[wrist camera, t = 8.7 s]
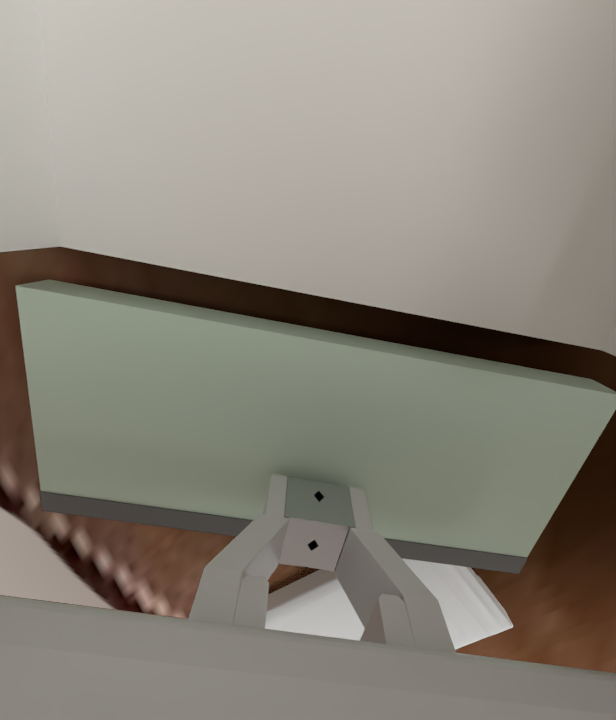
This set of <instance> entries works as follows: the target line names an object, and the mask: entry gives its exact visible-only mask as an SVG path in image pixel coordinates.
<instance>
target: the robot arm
mask: <svg viewBox="0 0 616 720" xmlns="http://www.w3.org/2000/svg"><path fill="white" fill-rule="evenodd" d="M278 564H285V565H294V566H303V567H310V568H316V569H321V570H327V571H333V572H335V575H336V577H337V579H338V581H339V583H340V584H341V586H342V588H343V590H344V592H345V593H346V595H347V597H348V599H349V601H350V603H351V604H352V606H353V608H354V610H355V612H356V613H357V615H358V617H359V619H360V621H361V623H362V624H363V626H364V628H365V630H364V632H363V634H362V636H361V639H360V641H358V640H350V639H342V638H334V637H326V636H319V635H311V634H303V633H295V632H287V631H280V630H272V629H265V622H266V611H267V601H268V591H269V582H268V581H267V580H268V579H269V578H270V576H271V575H272V573H273V572H274V571H275V569H276V568H277V566H278ZM0 720H616V673H612V672H604V671H596V670H588V669H580V668H572V667H564V666H556V665H549V664H541V663H533V662H525V661H517V660H509V659H501V658H493V657H486V656H478V655H470V654H462V653H456V651H455V648H454V645H453V642H452V640H451V637H450V634H449V631H448V628H447V625H446V622H445V619H444V616H443V613H442V610H441V607H440V604H439V602H438V600H437V599H436V597H435V596H434V595H433V594H432V593H431V592H430V591H429V589H428V588H427V587H426V586H425V585H424V584H423V583H422V581H421V580H420V579H419V578H418V577H417V576H416V574H415V573H414V572H413V571H412V570H411V569H410V568H409V566H408V565H407V564H406V563H405V562H404V561H403V560H402V558H401V557H400V556H399V555H398V554H397V553H396V552H395V550H394V549H393V548H392V547H391V546H390V545H389V544H388V542H387V541H386V540H385V539H384V538H383V537H382V536H381V534H380V533H379V532H377V531H373V526H372V522H371V517H370V512H369V508H368V503H367V499H366V494H365V490H364V489H363V488H361V487H354V486H345V485H339V484H332V483H326V482H319V481H313V480H308V479H303V478H297V477H292V476H285V475H280V474H274V473H272V474H271V477H270V482H269V486H268V491H267V496H266V501H265V506H264V511H263V514H260V515H258V516H257V517H256V518H255V519H254V520H253V521H252V522H251V523H250V524H249V525H248V526H247V527H246V528H245V529H244V530H243V531H242V532H241V533H240V534H239V535H238V536H237V537H235V538H234V539H233V540H232V541H231V542H230V543H229V544H228V545H227V546H226V547H225V548H224V549H223V550H222V551H221V552H220V553H219V554H218V555H217V556H216V557H215V558H214V559H212V560H211V561H210V562H209V563H208V564H207V565H206V566H205V567H204V570H203V573H202V577H201V580H200V583H199V586H198V590H197V593H196V596H195V599H194V602H193V606H192V609H191V612H190V615H189V619H185V618H177V617H169V616H161V615H153V614H145V613H138V612H130V611H122V610H114V609H106V608H98V607H90V606H82V605H74V604H67V603H58V602H51V601H43V600H35V599H27V598H19V597H11V596H3V595H0Z"/></svg>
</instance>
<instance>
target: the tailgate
mask: <svg viewBox="0 0 616 720" xmlns="http://www.w3.org/2000/svg"><path fill="white" fill-rule="evenodd" d="M15 287H16V295H17V303H18V311H19V319H20V327H21V335H22V344H23V352H24V360H25V368H26V376H27V384H28V392H29V400H30V408H31V416H32V424H33V432H34V440H35V448H36V457H37V465H38V473H39V481H40V489H41V491H40V499H41V507H42V511H49V512H56V513H64V514H71V515H79V516H86V517H94V518H101V519H109V520H117V521H124V522H132V523H139V524H147V525H154V526H162V527H169V528H177V529H184V530H192V531H200V532H207V533H215V534H222V535H230V536H238V535H239V534H240V533H241V532H242V531H243V530H244V529H245V528H246V527H247V526H248V525H249V524H250V523H251V522H252V521H253V520H254V519H255V518H256V517H257V516H258V515H260V514H263V511H264V506H265V501H266V496H267V491H268V486H269V482H270V477H271V474H272V473H274V474H280V475H285V476H292V477H297V478H303V479H308V480H313V481H319V482H326V483H332V484H339V485H345V486H354V487H361V488H363V489H364V490H365V494H366V499H367V503H368V508H369V512H370V517H371V522H372V526H373V531H377V532H379V533H380V534H381V536H382V537H383V538H384V539H385V540H386V541H387V542H388V544H389V545H390V546H391V547H392V548H393V549H394V550H395V552H396V553H397V554H398V555H399V556H400V557H401V558H404V559H411V560H419V561H426V562H434V563H441V564H449V565H456V566H464V567H471V568H479V569H487V570H494V571H502V572H509V573H517V574H519V573H520V571H521V569H522V568H523V566H524V564H525V563H526V561H527V559H528V558H527V557H528V555H529V553H530V552H531V550H532V548H533V547H534V545H535V543H536V542H537V540H538V538H539V537H540V535H541V533H542V532H543V530H544V528H545V527H546V525H547V523H548V522H549V520H550V518H551V517H552V515H553V513H554V512H555V510H556V508H557V507H558V505H559V503H560V502H561V500H562V498H563V497H564V495H565V493H566V492H567V490H568V488H569V487H570V485H571V483H572V482H573V480H574V478H575V477H576V475H577V473H578V472H579V470H580V468H581V467H582V465H583V463H584V462H585V460H586V458H587V457H588V455H589V453H590V452H591V450H592V448H593V447H594V445H595V443H596V442H597V440H598V438H599V437H600V435H601V433H602V432H603V430H604V428H605V427H606V425H607V423H608V422H609V420H610V418H611V417H612V415H613V413H614V412H615V410H616V392H615V391H613V390H611V389H610V388H608V387H606V386H604V385H602V384H600V383H598V382H596V381H594V380H592V379H588V378H583V377H577V376H572V375H566V374H561V373H555V372H550V371H545V370H539V369H534V368H528V367H523V366H517V365H512V364H507V363H501V362H496V361H490V360H485V359H479V358H474V357H468V356H463V355H458V354H452V353H447V352H441V351H436V350H430V349H425V348H420V347H414V346H409V345H403V344H398V343H392V342H387V341H381V340H376V339H371V338H365V337H360V336H354V335H349V334H343V333H338V332H333V331H327V330H322V329H316V328H311V327H305V326H300V325H295V324H289V323H284V322H278V321H273V320H267V319H262V318H256V317H251V316H246V315H240V314H235V313H229V312H224V311H218V310H213V309H208V308H202V307H197V306H191V305H186V304H180V303H175V302H169V301H164V300H159V299H153V298H148V297H142V296H137V295H131V294H126V293H121V292H115V291H110V290H104V289H99V288H93V287H88V286H82V285H77V284H72V283H66V282H61V281H55V280H50V279H48V280H43V281H37V282H32V283H27V284H21V285H16V286H15Z"/></svg>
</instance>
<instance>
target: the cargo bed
mask: <svg viewBox="0 0 616 720" xmlns="http://www.w3.org/2000/svg"><path fill="white" fill-rule="evenodd" d="M49 247H65V248H71V249H76V250H81V251H86V252H91V253H97V254H102V255H107V256H112V257H117V258H123V259H128V260H133V261H138V262H144V263H149V264H154V265H159V266H164V267H170V268H175V269H180V270H185V271H191V272H196V273H201V274H206V275H211V276H217V277H222V278H227V279H232V280H237V281H243V282H248V283H253V284H258V285H264V286H269V287H274V288H279V289H284V290H290V291H295V292H300V293H305V294H310V295H316V296H321V297H326V298H331V299H337V300H342V301H347V302H352V303H357V304H363V305H368V306H373V307H378V308H384V309H389V310H394V311H399V312H404V313H410V314H415V315H420V316H425V317H430V318H436V319H441V320H446V321H451V322H457V323H462V324H467V325H472V326H477V327H483V328H488V329H493V330H498V331H504V332H509V333H514V334H519V335H524V336H530V337H535V338H540V339H545V340H550V341H556V342H561V343H566V344H571V345H577V346H582V347H587V348H592V349H597V350H602V351H604V352H607V353H609V354H611V355H614V356H616V0H0V252H8V251H18V250H29V249H39V248H49Z"/></svg>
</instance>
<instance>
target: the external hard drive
mask: <svg viewBox="0 0 616 720" xmlns="http://www.w3.org/2000/svg"><path fill="white" fill-rule="evenodd" d="M402 560H403V561H404V562H405V563H406V564H407V565H408V566H409V568H410V569H411V570H412V571H413V572H414V573H415V574H416V576H417V577H418V578H419V579H420V580H421V581H422V583H423V584H424V585H425V586H426V587H427V588H428V589H429V591H430V592H431V593H432V594H433V595H434V596H435V597H436V599H437V600H438V602H439V604H440V607H441V610H442V613H443V616H444V619H445V622H446V625H447V628H448V631H449V634H450V637H451V640H452V642H453V645H454V648H455V650H456V649H458V648H461V647H463V646H466V645H468V644H471V643H473V642H476V641H478V640H481V639H483V638H486V637H489V636H491V635H495V634H498V633H500V632H503V631H505V630H508V629H510V628H512V627H513V624H512V622H511V620H510V619H509V617H508V615H507V613H506V611H505V609H504V608H503V607H502V606H501V604H500V603H499V602H498V600H497V599H496V598H495V596H494V595H493V594H492V593H491V591H490V590H489V589H488V587H487V586H486V585H485V583H484V582H483V581H482V579H481V578H480V577H479V576H478V575H476V574H475V572H474V571H473V570H472V568H471V567H464V566H456V565H449V564H441V563H434V562H426V561H419V560H411V559H404V558H402ZM265 629H272V630H280V631H287V632H295V633H303V634H311V635H319V636H326V637H334V638H342V639H350V640H358V641H360V639H361V636H362V634H363V632H364V630H365V628H364V626H363V624H362V623H361V621H360V619H359V617H358V615H357V613H356V612H355V610H354V608H353V606H352V604H351V603H350V601H349V599H348V597H347V595H346V593H345V592H344V590H343V588H342V586H341V584H340V583H339V581H338V579H337V577H336V575H335V572H333V571H327V570H321V569H320V570H318V571H316V572H314V573H312V574H309V575H307V576H305V577H303V578H301V579H299V580H297V581H295V582H293V583H291V584H289V585H287V586H285V587H283V588H281V589H278V590H276V591H274V592H272V593H270V594H268V601H267V611H266V622H265Z"/></svg>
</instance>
